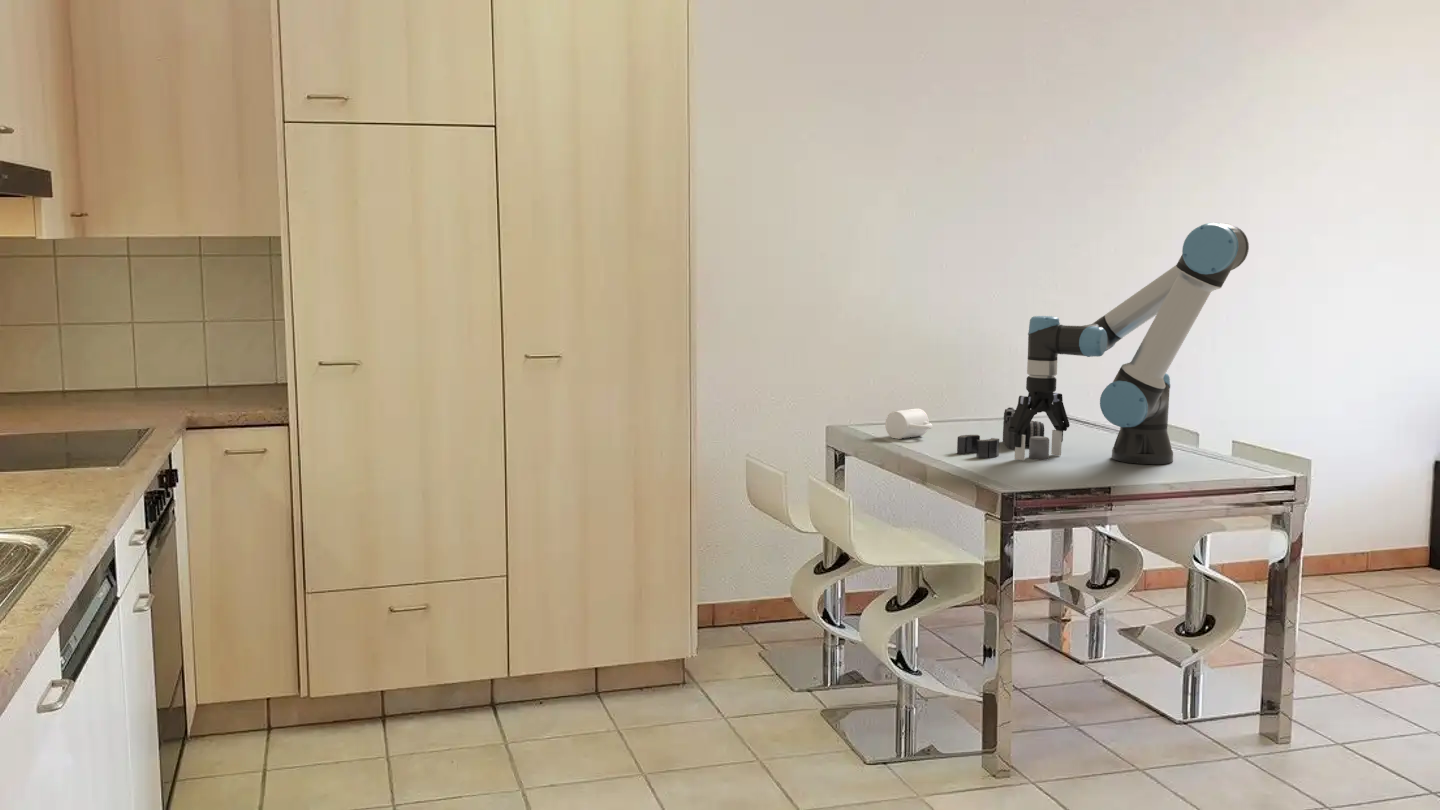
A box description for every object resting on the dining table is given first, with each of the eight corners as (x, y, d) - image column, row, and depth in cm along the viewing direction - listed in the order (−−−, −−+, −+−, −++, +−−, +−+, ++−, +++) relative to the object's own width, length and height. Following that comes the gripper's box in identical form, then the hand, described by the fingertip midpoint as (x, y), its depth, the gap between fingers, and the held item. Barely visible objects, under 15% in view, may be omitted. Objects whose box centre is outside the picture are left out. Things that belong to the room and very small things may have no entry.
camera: (1048, 450, 357) (1049, 414, 356) (1007, 450, 358) (1008, 413, 356) (1038, 442, 371) (1039, 407, 370) (998, 441, 372) (1000, 406, 371)
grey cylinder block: (1052, 458, 344) (1053, 438, 343) (1039, 460, 341) (1040, 439, 341) (1038, 456, 348) (1039, 435, 347) (1024, 457, 345) (1025, 437, 345)
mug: (884, 437, 377) (885, 409, 376) (907, 434, 384) (908, 406, 383) (917, 442, 368) (917, 414, 367) (940, 439, 375) (940, 411, 374)
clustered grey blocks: (1002, 456, 347) (1003, 439, 346) (981, 458, 343) (982, 441, 342) (972, 450, 356) (973, 433, 355) (952, 452, 352) (952, 436, 351)
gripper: (1063, 372, 352) (1060, 451, 355) (996, 377, 338) (993, 459, 341) (1085, 374, 346) (1081, 455, 349) (1018, 380, 332) (1014, 463, 335)
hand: (1037, 457), depth 345 cm, fingers open, 13 cm apart
